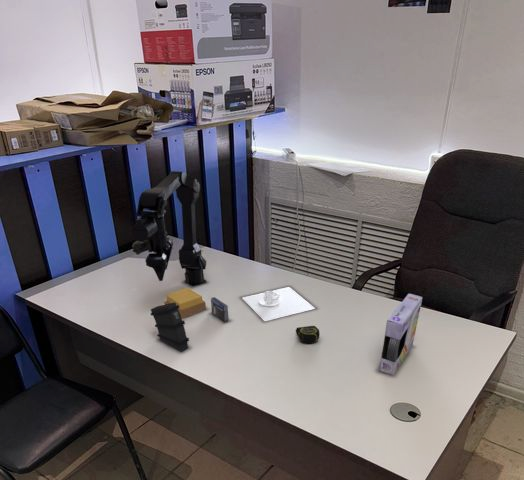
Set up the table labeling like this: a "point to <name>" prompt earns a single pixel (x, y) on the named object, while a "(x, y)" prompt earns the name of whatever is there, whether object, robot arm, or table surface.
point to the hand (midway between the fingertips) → (163, 275)
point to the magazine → (170, 326)
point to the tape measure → (308, 334)
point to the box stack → (186, 301)
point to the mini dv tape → (219, 309)
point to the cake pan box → (400, 333)
